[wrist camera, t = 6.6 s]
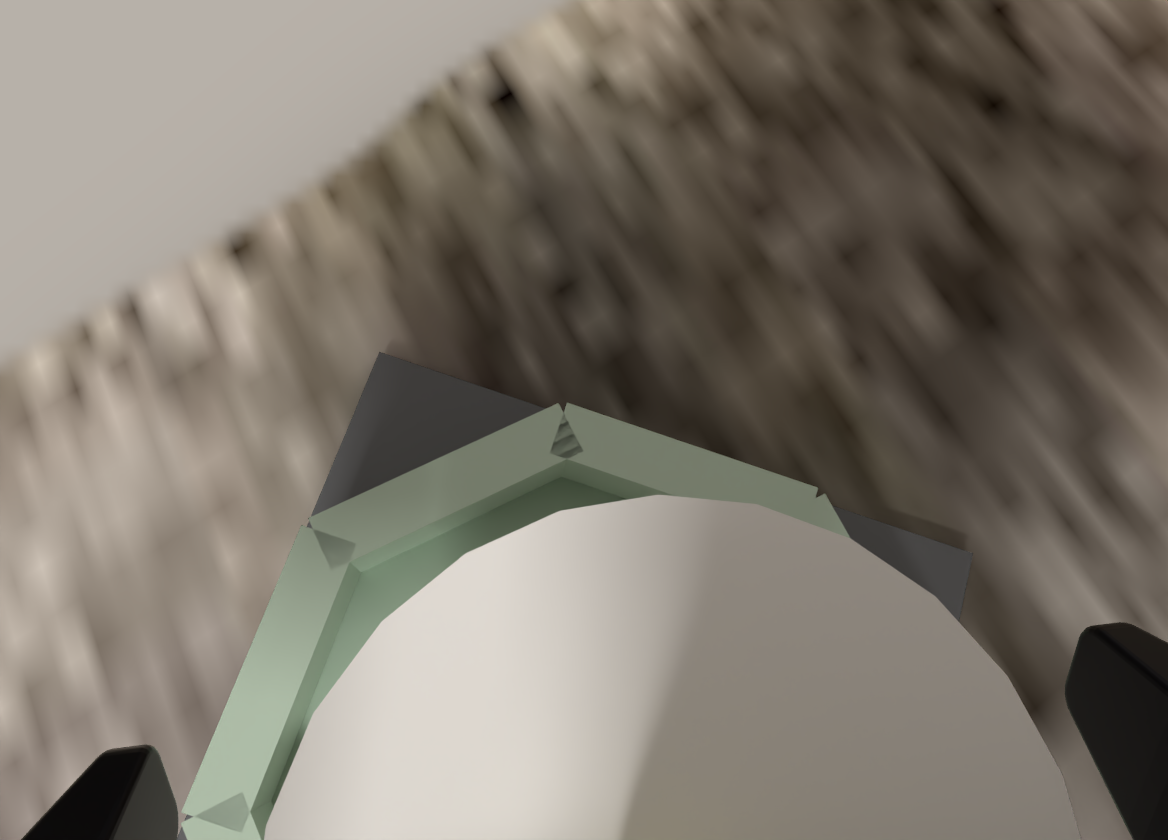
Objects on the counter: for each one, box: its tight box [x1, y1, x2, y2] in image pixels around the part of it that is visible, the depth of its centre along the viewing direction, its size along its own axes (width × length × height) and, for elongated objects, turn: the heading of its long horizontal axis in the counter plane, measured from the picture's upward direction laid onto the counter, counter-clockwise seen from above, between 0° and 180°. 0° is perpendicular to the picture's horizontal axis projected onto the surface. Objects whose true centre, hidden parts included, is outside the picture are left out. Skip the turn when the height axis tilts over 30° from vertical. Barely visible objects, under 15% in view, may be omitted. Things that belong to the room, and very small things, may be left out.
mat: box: [177, 352, 973, 840], centre depth 18 cm, size 13×13×1 cm
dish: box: [181, 403, 850, 840], centre depth 17 cm, size 12×12×2 cm
